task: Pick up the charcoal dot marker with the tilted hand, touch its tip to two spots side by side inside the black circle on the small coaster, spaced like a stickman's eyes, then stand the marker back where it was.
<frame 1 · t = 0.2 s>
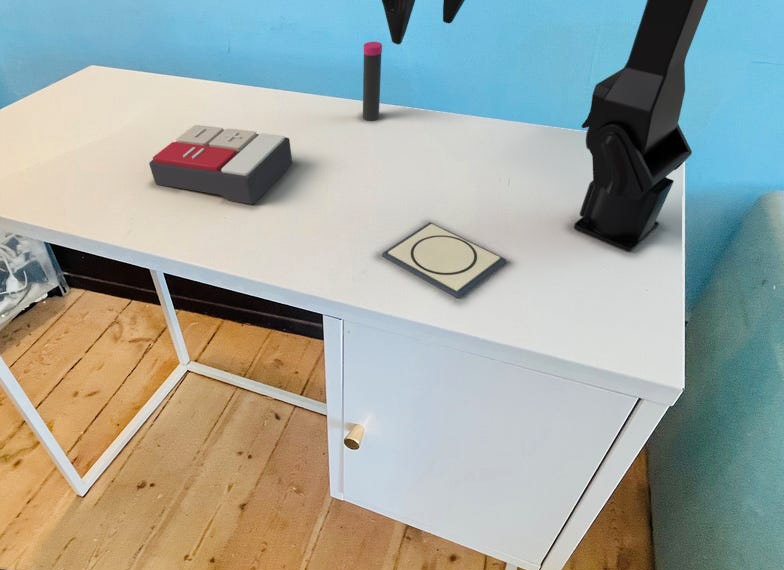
hand: (422, 32, 67), 14 cm above the table, tool pointing down, fingers open, 9 cm apart
coaster: (442, 259, 60), on the table
dot marker: (370, 117, 84), on the table
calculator: (224, 175, 75), on the table
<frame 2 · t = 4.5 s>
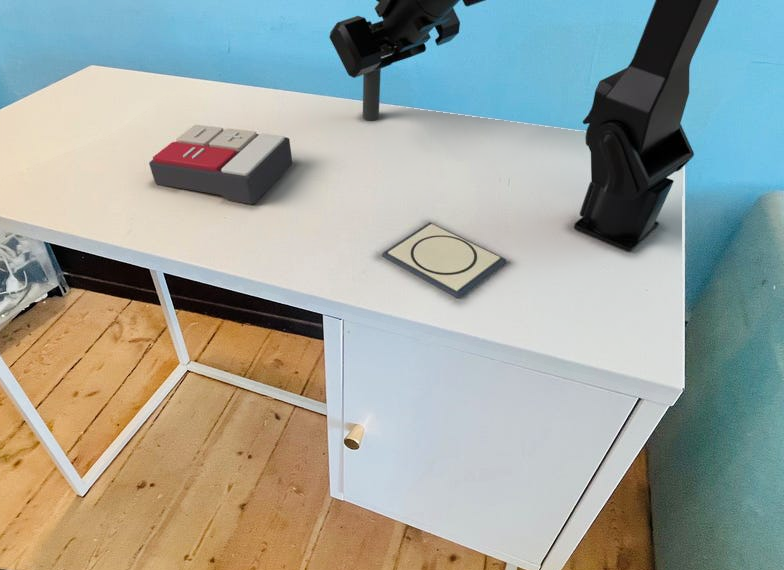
hand: (365, 68, 80), 7 cm above the table, tool tilted 45°, fingers closed on dot marker, 2 cm apart
dot marker: (370, 117, 84), on the table, touching gripper
everything else where it was.
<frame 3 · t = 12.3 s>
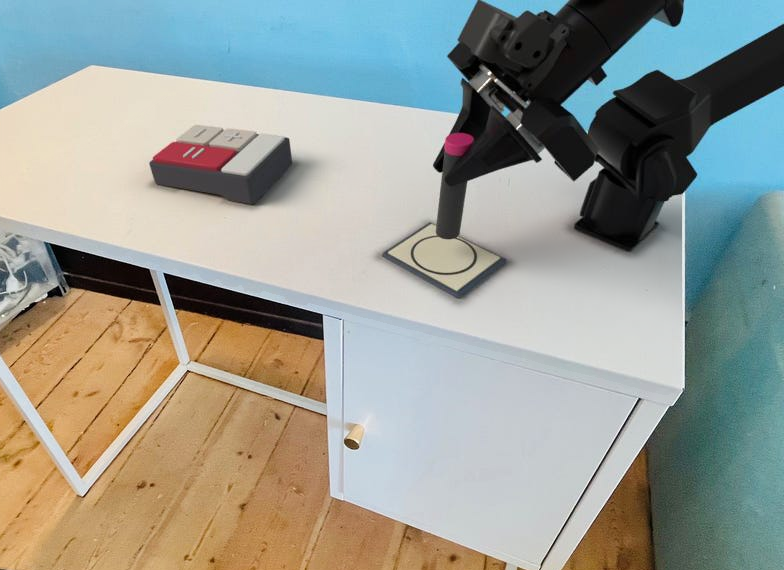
hand: (441, 176, 53), 10 cm above the table, tool tilted 45°, fingers closed on dot marker, 2 cm apart
dot marker: (447, 232, 58), point 3 cm above the table, touching gripper
everything else where it was.
when the fingers open (7 cm above the table, at t = 20.5 s): dot marker stays where it is, on the table.
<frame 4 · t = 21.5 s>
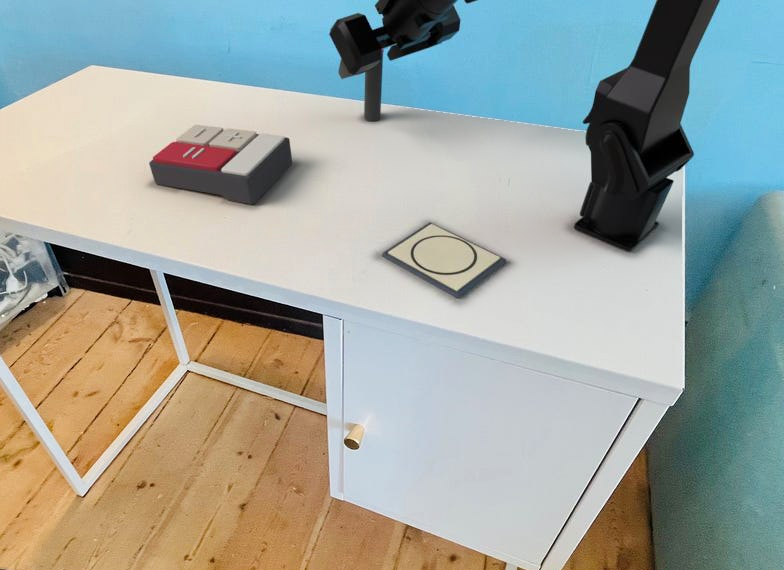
hand: (365, 66, 80), 7 cm above the table, tool tilted 45°, fingers open, 9 cm apart
dot marker: (372, 117, 84), on the table
everything else where it was.
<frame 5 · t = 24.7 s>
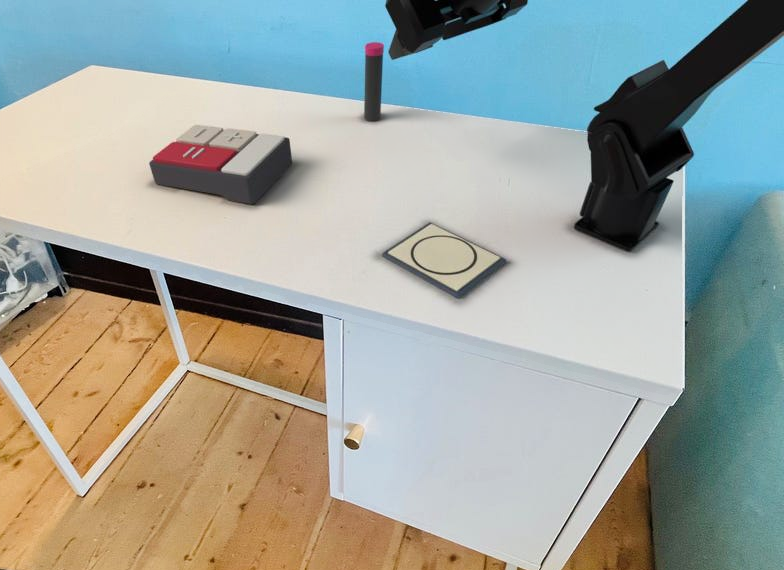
hand: (417, 46, 71), 12 cm above the table, tool tilted 45°, fingers open, 9 cm apart
nothing on the table moved.
at the end: dot marker tilted 0°; the gripper is holding nothing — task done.
